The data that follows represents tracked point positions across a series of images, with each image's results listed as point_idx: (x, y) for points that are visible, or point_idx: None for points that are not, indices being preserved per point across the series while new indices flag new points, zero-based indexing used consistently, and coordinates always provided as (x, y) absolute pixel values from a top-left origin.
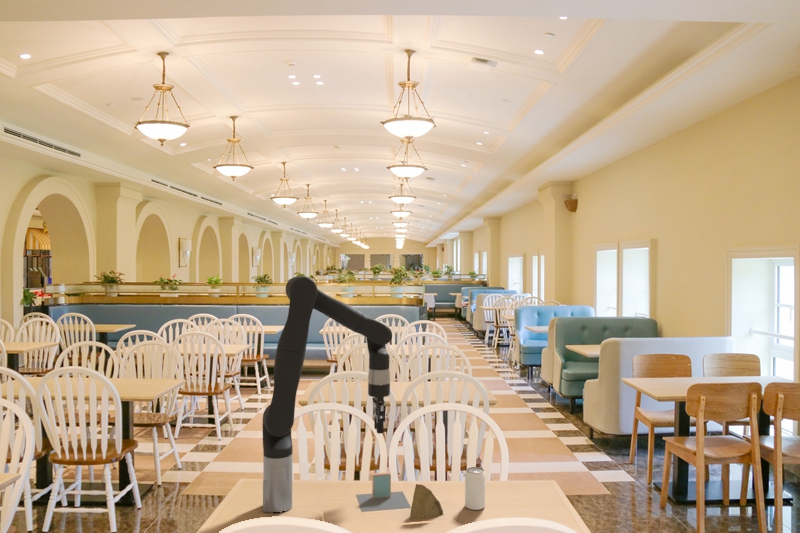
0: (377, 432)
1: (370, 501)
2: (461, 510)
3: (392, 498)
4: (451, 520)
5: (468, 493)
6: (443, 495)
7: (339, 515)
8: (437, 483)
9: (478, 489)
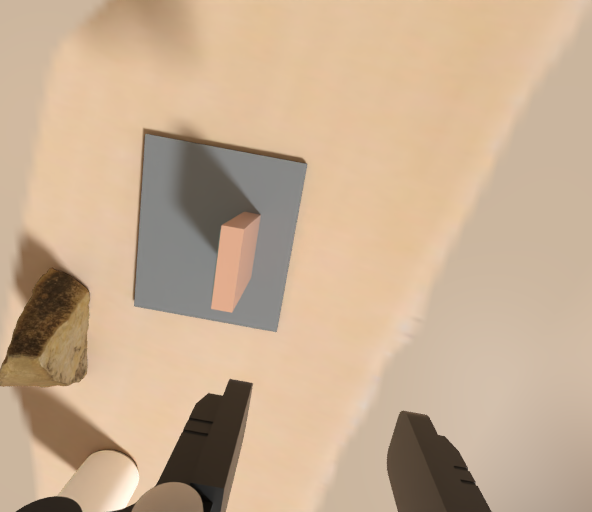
0: (229, 384)
1: (225, 195)
2: (97, 429)
3: None
4: None
5: (67, 490)
6: None
7: (153, 45)
8: (315, 456)
9: None
